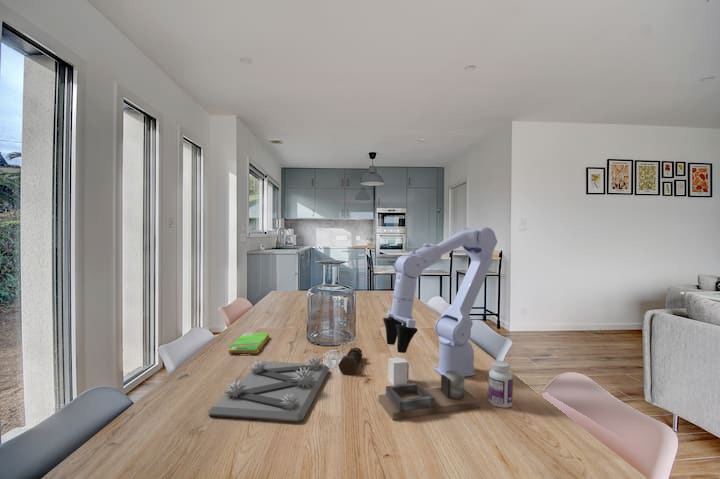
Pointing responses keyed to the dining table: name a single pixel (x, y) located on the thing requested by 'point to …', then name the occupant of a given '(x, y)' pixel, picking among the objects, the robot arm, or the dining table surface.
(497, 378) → the pill bottle
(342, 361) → the bolt
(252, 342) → the game box
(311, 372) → the grey spiky zigzag board
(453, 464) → the dining table surface
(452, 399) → the brown board with socket
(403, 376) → the white block
